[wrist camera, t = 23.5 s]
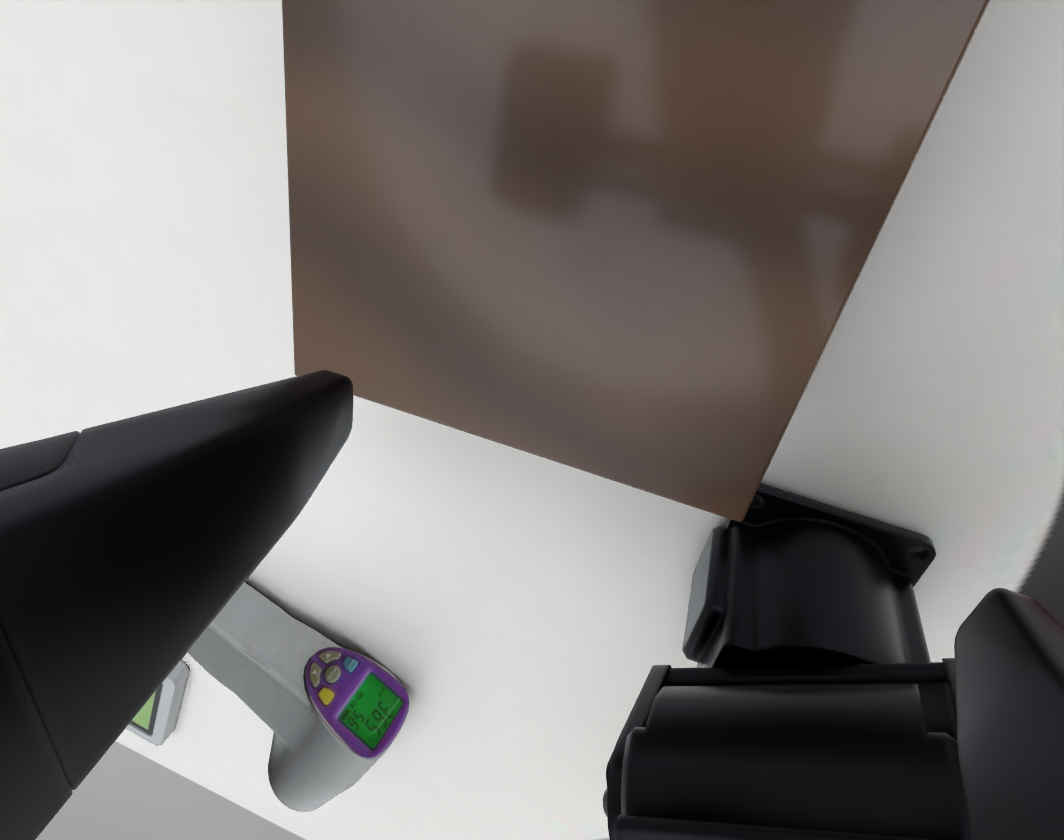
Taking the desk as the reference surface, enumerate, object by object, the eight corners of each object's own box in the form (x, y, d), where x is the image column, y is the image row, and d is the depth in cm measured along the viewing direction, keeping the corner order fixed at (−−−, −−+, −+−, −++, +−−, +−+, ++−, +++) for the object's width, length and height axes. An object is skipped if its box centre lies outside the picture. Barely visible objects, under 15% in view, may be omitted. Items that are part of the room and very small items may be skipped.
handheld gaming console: (-40, 561, 41) (172, 686, 41) (-16, 544, 42) (190, 665, 43) (-30, 643, 47) (157, 752, 47) (-8, 626, 48) (173, 732, 48)
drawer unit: (441, -335, 15) (261, -517, 10) (1024, -252, 13) (1192, -422, 8) (400, 293, 24) (293, 376, 19) (749, 398, 22) (742, 524, 17)
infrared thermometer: (201, 522, 36) (427, 689, 36) (164, 631, 43) (353, 771, 43) (129, 579, 32) (381, 765, 32) (102, 688, 39) (309, 841, 39)
